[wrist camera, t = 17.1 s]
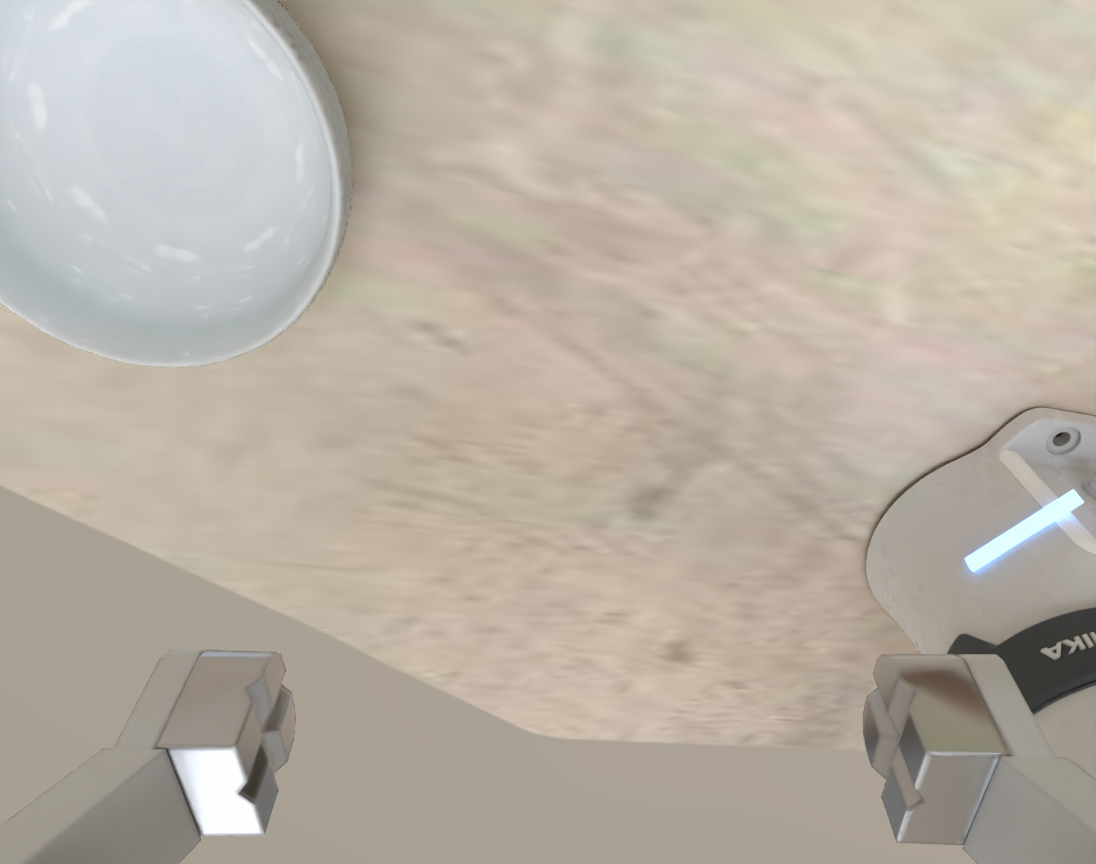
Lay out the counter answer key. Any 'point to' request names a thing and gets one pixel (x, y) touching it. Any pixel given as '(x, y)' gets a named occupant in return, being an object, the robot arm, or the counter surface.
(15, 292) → the cereal bowl
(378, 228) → the counter surface
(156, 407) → the counter surface
